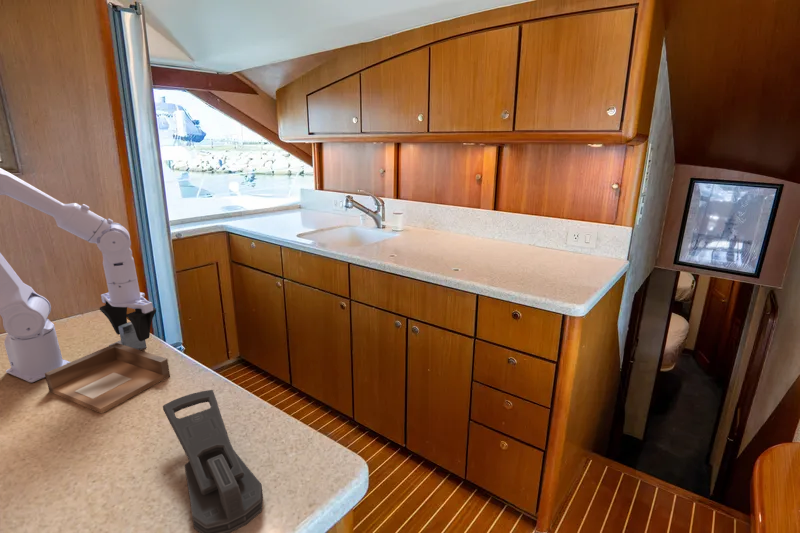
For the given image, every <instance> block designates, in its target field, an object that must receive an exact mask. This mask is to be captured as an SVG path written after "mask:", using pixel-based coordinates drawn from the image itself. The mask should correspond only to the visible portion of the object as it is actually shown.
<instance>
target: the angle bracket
mask: <svg viewBox="0 0 800 533" xmlns="http://www.w3.org/2000/svg"><path fill="white" fill-rule="evenodd" d="M118 328H119V333H120V334H119V337H120V340H118V341H116V342H114V343H111V344H108V346H110V345H113V344H115V343H119V344H122V345H125V346H128V347H131V348H135V349H138V350H141V351H143V350H144V349H146V348H147V343H146V340H143V341H139V340H138V338H137V335H136V332H135V329H134V326H133V324H132V322H131V321H127V323H126V324H123V325H121V326H118Z"/></svg>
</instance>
